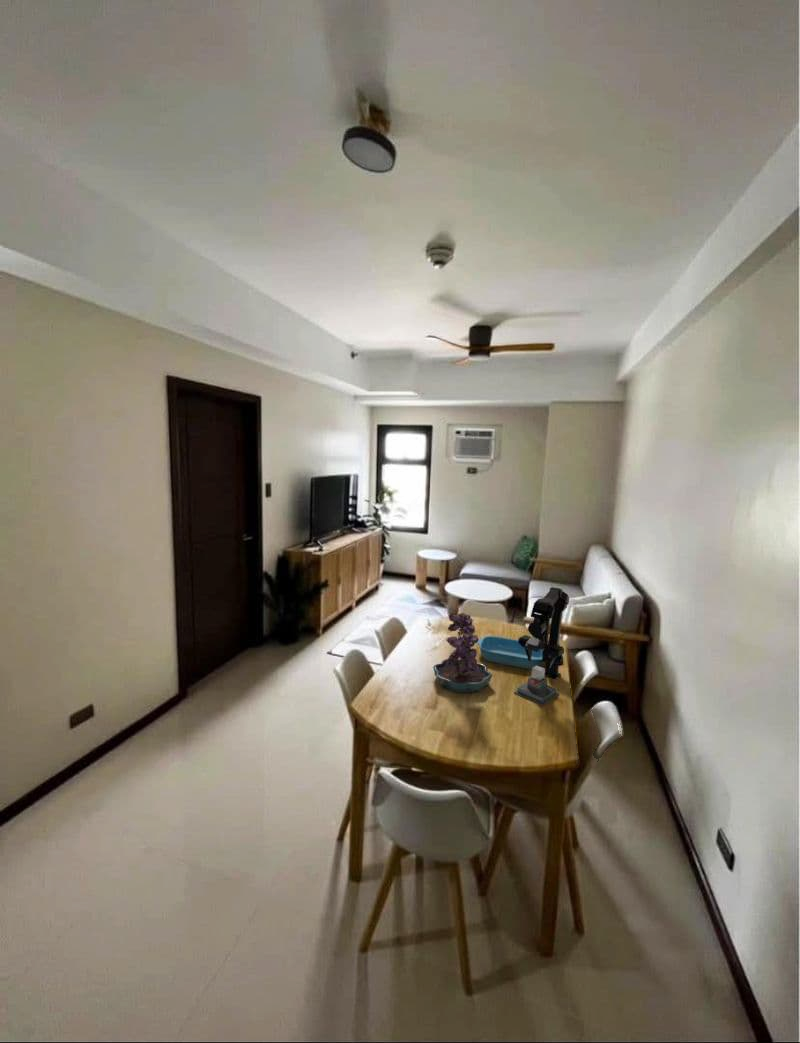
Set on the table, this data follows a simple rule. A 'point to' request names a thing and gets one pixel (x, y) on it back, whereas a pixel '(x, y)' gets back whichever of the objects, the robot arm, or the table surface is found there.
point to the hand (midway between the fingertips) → (539, 664)
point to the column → (538, 673)
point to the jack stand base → (537, 691)
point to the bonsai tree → (462, 659)
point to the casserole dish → (508, 652)
